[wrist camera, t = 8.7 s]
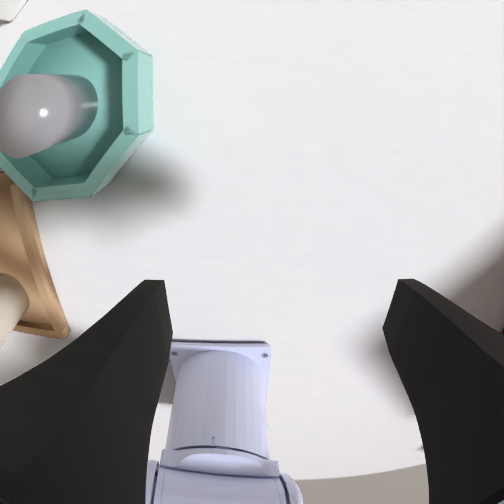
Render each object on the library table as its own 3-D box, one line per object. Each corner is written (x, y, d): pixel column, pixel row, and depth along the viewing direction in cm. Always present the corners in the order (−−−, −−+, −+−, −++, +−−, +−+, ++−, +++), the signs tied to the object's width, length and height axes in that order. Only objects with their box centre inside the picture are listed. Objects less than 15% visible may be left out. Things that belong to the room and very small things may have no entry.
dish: (156, 180, 17) (143, 194, 15) (22, 191, 17) (1, 205, 14) (155, 9, 12) (141, -4, 10) (14, 49, 12) (-10, 48, 10)
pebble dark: (96, 139, 15) (50, 157, 11) (43, 141, 15) (-7, 160, 10) (100, 71, 13) (53, 67, 9) (45, 79, 13) (-7, 82, 9)
